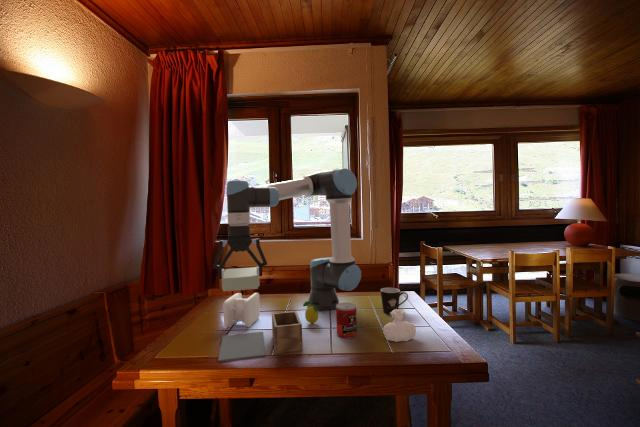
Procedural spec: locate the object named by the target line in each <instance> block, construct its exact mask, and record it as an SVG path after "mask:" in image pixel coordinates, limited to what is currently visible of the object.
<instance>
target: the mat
mask: <svg viewBox="0 0 640 427" xmlns="http://www.w3.org/2000/svg"><path fill="white" fill-rule="evenodd" d="M262 357H266V348H265V338H264V331H257V332H248V333H247V332H246V333H238V334H236V333H235V334H228V335H227V334H226V335H222V339H221V344H220V349H219V354H218V359H217V362H218V363H221V362H228V361H229V362H230V361H236V360H237V361H238V360H239V361H240V360H247V359H252V358H254V359H255V358H262Z"/></svg>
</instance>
